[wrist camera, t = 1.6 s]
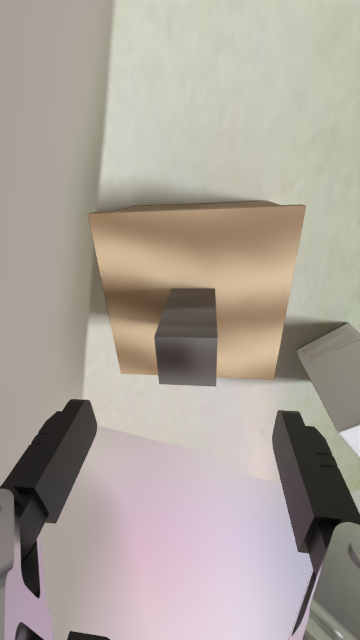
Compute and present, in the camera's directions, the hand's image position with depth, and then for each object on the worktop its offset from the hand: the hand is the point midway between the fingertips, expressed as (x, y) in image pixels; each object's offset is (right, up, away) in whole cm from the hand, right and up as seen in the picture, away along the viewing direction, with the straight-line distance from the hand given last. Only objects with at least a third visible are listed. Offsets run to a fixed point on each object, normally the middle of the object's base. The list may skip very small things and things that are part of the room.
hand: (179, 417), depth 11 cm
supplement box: (+21, 0, +22) cm, 30 cm away
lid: (+1, +6, +10) cm, 12 cm away
